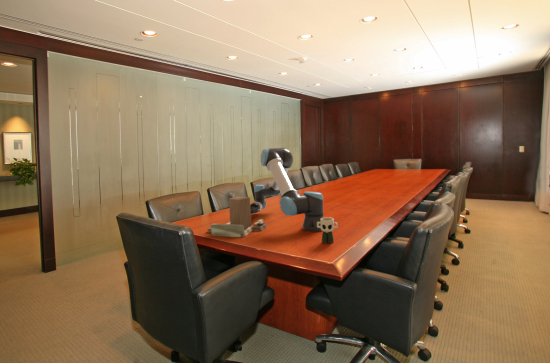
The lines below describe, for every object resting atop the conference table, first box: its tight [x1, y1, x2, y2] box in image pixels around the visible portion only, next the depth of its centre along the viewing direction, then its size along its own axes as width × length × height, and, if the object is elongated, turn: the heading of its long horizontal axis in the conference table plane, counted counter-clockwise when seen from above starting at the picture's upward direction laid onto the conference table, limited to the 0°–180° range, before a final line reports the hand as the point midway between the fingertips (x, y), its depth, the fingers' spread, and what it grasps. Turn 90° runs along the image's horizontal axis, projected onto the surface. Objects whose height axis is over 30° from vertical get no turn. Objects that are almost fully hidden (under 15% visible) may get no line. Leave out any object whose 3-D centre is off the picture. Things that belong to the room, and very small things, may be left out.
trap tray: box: [207, 218, 267, 238], centre depth 200 cm, size 35×33×7 cm
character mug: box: [317, 216, 339, 244], centre depth 163 cm, size 11×7×13 cm, turn 77°
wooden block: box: [228, 195, 252, 230], centre depth 201 cm, size 10×10×20 cm
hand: (242, 214), depth 208 cm, fingers closed
